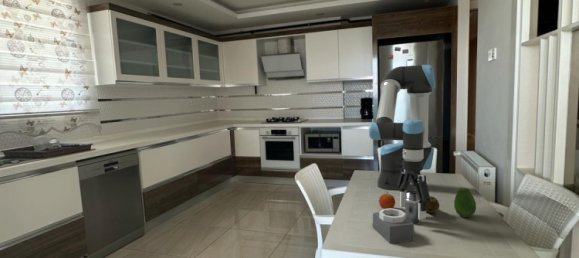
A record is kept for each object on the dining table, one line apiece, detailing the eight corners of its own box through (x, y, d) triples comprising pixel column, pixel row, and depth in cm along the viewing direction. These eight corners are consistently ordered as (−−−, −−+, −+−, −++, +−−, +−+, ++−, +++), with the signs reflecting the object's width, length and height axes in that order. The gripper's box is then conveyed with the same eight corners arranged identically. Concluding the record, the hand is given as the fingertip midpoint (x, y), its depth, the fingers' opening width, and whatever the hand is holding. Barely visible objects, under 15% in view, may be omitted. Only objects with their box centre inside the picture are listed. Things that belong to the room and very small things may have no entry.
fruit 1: (390, 213, 135) (391, 195, 134) (376, 209, 140) (376, 192, 139) (397, 208, 140) (397, 191, 139) (383, 205, 145) (383, 188, 144)
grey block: (372, 227, 121) (372, 207, 120) (394, 225, 123) (394, 205, 122) (389, 243, 109) (389, 221, 108) (413, 240, 110) (413, 218, 109)
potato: (438, 208, 139) (439, 190, 138) (439, 219, 127) (439, 200, 127) (418, 206, 142) (418, 189, 142) (417, 216, 131) (417, 198, 130)
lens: (402, 219, 128) (402, 190, 127) (414, 218, 129) (414, 189, 128) (409, 225, 123) (410, 194, 121) (422, 223, 124) (422, 193, 122)
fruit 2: (477, 221, 124) (478, 192, 123) (455, 219, 127) (456, 190, 125) (473, 214, 131) (474, 186, 130) (452, 212, 134) (453, 184, 133)
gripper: (388, 154, 134) (388, 203, 137) (422, 166, 110) (422, 225, 113) (404, 153, 136) (404, 201, 138) (442, 165, 112) (440, 223, 114)
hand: (412, 212), depth 125 cm, fingers open, 12 cm apart
